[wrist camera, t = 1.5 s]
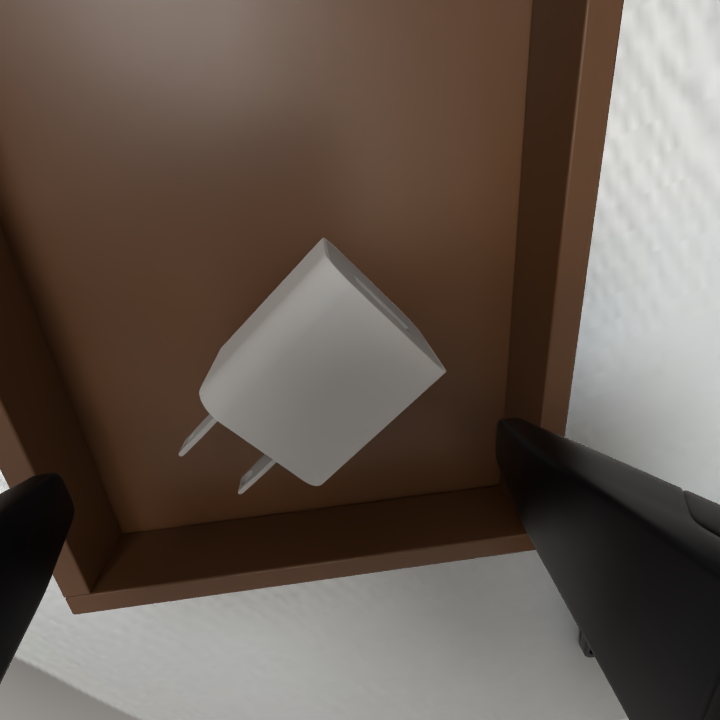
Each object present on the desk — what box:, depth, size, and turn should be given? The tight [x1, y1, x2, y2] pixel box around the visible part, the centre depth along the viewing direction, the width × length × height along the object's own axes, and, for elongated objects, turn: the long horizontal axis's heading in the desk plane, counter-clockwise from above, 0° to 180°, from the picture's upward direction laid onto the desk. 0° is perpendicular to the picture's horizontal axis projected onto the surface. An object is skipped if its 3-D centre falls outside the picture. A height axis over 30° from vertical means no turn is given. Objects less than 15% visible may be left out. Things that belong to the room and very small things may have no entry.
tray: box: [0, 0, 624, 614], centre depth 12 cm, size 20×16×3 cm
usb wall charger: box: [179, 237, 446, 494], centre depth 12 cm, size 4×7×4 cm, turn 135°
